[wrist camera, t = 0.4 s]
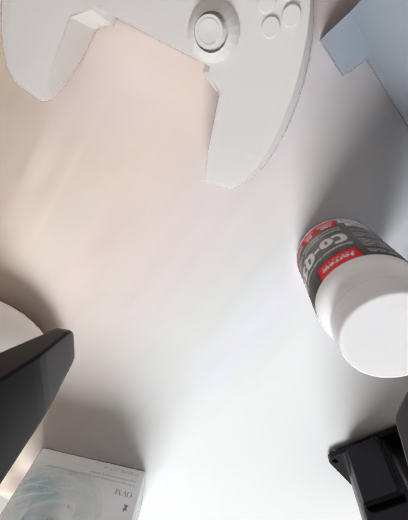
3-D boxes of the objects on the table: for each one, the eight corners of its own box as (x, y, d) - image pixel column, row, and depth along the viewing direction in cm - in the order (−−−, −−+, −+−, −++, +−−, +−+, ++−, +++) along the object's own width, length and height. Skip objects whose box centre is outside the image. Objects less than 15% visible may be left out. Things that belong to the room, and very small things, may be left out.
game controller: (-22, 81, 15) (-34, -272, 9) (36, 75, 19) (53, -184, 13) (245, 212, 16) (385, -32, 10) (251, 182, 20) (358, -12, 14)
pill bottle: (319, 204, 18) (373, 260, 11) (391, 234, 19) (495, 310, 11) (282, 271, 20) (306, 359, 13) (348, 298, 21) (411, 400, 13)
